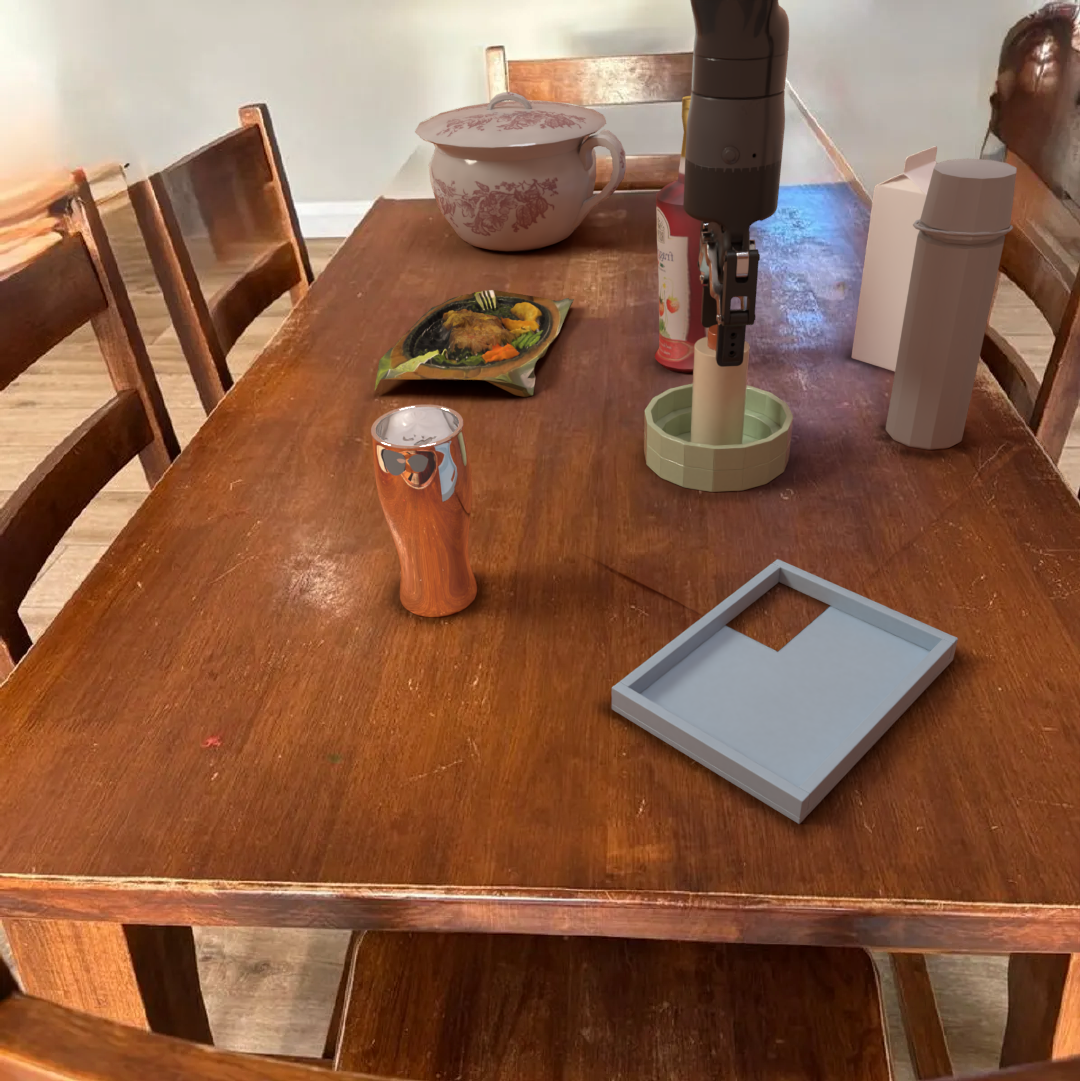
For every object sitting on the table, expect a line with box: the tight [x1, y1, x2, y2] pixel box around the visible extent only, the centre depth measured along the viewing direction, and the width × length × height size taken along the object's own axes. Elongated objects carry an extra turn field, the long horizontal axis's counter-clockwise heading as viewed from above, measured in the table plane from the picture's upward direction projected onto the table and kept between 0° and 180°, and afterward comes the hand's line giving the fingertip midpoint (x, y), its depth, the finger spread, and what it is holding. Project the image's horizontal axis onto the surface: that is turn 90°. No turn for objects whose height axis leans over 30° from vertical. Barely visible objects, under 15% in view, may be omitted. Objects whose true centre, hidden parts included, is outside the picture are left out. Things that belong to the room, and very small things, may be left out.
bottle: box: [690, 324, 751, 446], centre depth 91 cm, size 5×5×12 cm
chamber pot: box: [414, 91, 627, 253], centre depth 148 cm, size 28×28×21 cm
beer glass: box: [370, 403, 478, 618], centre depth 76 cm, size 7×7×15 cm
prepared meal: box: [373, 289, 575, 398], centre depth 119 cm, size 28×4×18 cm
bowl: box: [643, 382, 794, 493], centre depth 94 cm, size 13×13×5 cm
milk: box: [851, 145, 938, 373], centre depth 106 cm, size 6×6×22 cm
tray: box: [611, 558, 959, 825], centre depth 69 cm, size 20×15×2 cm
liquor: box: [654, 94, 709, 374], centre depth 105 cm, size 7×7×28 cm
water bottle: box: [885, 157, 1018, 451], centre depth 91 cm, size 9×8×25 cm
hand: (720, 344), depth 89 cm, fingers open, 8 cm apart
